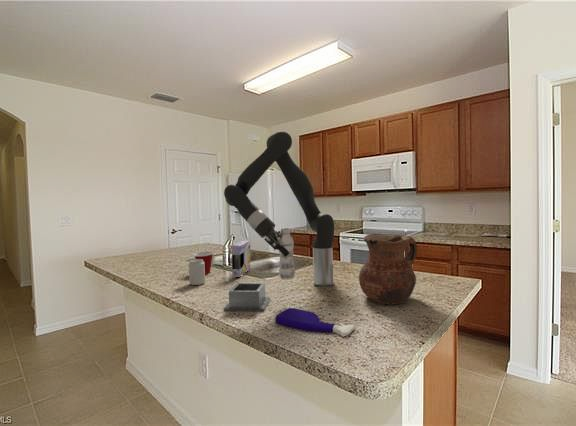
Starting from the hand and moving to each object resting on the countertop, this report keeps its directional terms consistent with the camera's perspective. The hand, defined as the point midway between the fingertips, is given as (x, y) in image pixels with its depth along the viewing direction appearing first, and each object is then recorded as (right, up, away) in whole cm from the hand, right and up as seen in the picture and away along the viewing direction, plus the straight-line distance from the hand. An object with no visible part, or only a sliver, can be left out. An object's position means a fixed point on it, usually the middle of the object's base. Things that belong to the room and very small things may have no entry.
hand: (290, 253), depth 118 cm
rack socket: (-16, -20, -1) cm, 26 cm away
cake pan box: (-27, -18, +50) cm, 59 cm away
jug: (+38, -18, +2) cm, 43 cm away
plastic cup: (-48, -19, +53) cm, 74 cm away
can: (-46, -20, +32) cm, 59 cm away
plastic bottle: (-1, -11, +1) cm, 11 cm away
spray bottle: (+7, -21, -22) cm, 31 cm away
